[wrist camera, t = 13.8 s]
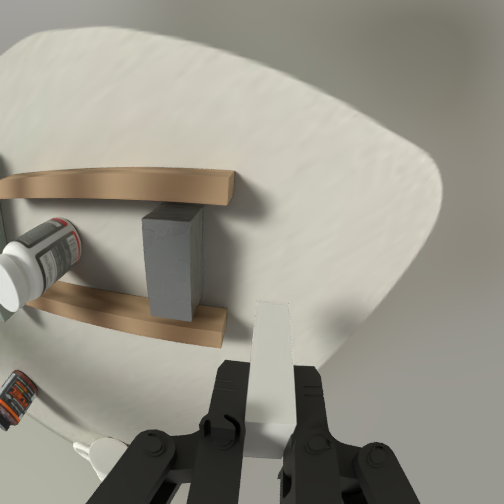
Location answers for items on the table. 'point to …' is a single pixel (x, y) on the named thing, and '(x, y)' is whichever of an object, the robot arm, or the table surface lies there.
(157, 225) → the tall gray brick
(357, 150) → the table surface
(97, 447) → the mug
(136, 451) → the robot arm
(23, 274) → the pill bottle
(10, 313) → the door edge rail
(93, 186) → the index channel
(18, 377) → the supplement bottle
